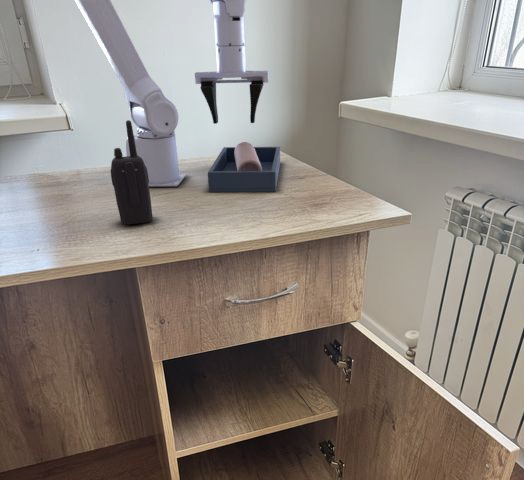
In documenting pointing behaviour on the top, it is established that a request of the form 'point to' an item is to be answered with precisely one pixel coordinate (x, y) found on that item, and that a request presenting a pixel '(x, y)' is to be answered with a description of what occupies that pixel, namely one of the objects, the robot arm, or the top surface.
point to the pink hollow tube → (246, 158)
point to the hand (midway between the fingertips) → (234, 122)
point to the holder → (245, 172)
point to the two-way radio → (131, 184)
